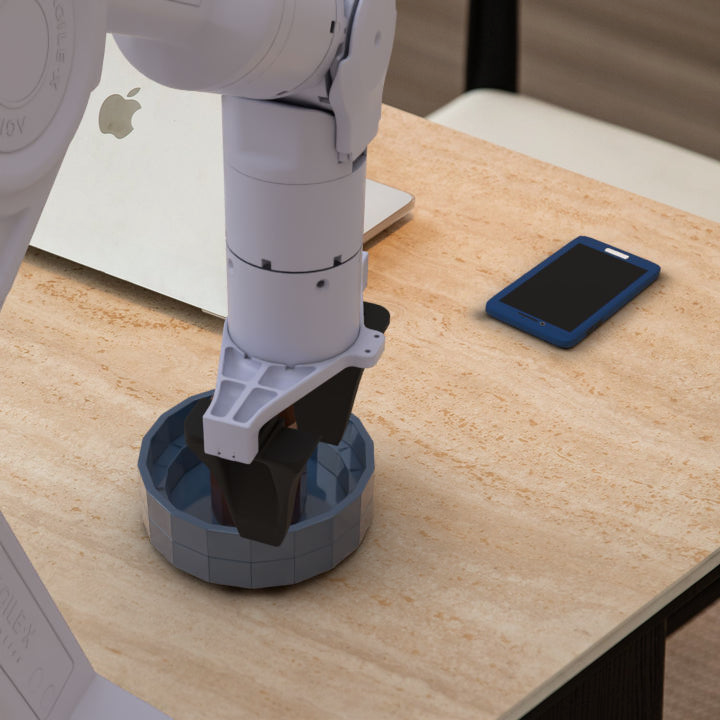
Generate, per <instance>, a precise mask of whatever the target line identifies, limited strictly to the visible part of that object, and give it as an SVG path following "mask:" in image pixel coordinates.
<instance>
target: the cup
mask: <svg viewBox="0 0 720 720" xmlns="http://www.w3.org/2000/svg"><path fill="white" fill-rule="evenodd" d="M213 397H214V394H213V396H212V397H211V400H213ZM281 417H283V418H285V427H289V428H293V429H297V430H298V428H297V424H296V420H295V414H294V406H293V404H292V405H290V406H289V407H287V408H286V409H284V410H283V411H281V412H280V413H278V418H281ZM209 477H210V497H211V509H212V513H213V516H214V517H215V519H216V520H217V522H218V523H219V524H220V525H223V526H230V527H236V525H235V523H234V520H233V518H232V515H231V512H230V510H229V507H228V504H227V502H226V499H225V497H224V495H223V492H222V490H221V488H220V486H219V484H218V482H217V481H216V479H215V478H214V476H213V475H212V473H211V472H210V470H209ZM306 501H307V462H306V464H305V465H304V468H303V470H302V473H301V476H300V479H299V483H298V486H297V490H296V496H295V502H294V508H293V514H292V519H291V524H290V525H294V524H296V523H297V522H298V521H299V520H300V519H301V517H302V516H303V514H304V511H305V507H306Z"/></svg>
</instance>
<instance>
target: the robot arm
mask: <svg viewBox="0 0 720 720" xmlns="http://www.w3.org/2000/svg"><path fill="white" fill-rule="evenodd" d="M396 3H397V2H396V0H0V313H1V311H2V309H3V307H4V304H5V302H6V300H7V297H8V295H9V293H10V292H11V290H12V288H13V286H14V283H15V281H16V278H17V276H18V273H19V271H20V268H21V265H22V263H23V261H24V258H25V256H26V253H27V251H28V249H29V246H30V243H31V241H32V238H33V237H34V233H35V231H36V228H37V226H38V224H39V221H40V219H41V217H42V214H43V211H44V209H45V206H46V204H47V201H48V199H49V197H50V194H51V191H52V189H53V187H54V185H55V182H56V179H57V176H58V174H59V172H60V169H61V167H62V164H63V162H64V159H65V157H66V155H67V152H68V150H69V147H70V145H71V143H72V141H73V139H74V138H75V136H76V134H77V131H78V130H79V127H80V125H81V123H82V121H83V118H84V116H85V113H86V109H87V107H88V104H89V100H90V97H91V94H92V92H94V91H95V90H96V89H97V88H98V86H99V85H100V83H101V79H102V73H103V67H104V60H105V59H104V58H105V53H106V43H107V34H111V35H112V38H113V40H114V42H115V44H116V46H117V47H118V50H119V51H120V52H121V54H122V55H123V57H124V58H125V60H127V62H128V63H129V64H130V65H131V66H132V67H133V68H135V70H136V71H138V72H139V73H140V74H141V75H143V76H144V77H146V78H147V79H149V80H151V81H152V82H154V83H156V84H158V85H161V86H163V87H166V88H169V89H174V90H179V91H186V92H198V93H206V94H214V95H220V100H221V101H220V102H221V103H220V104H221V128H222V130H221V131H222V163H223V164H222V166H223V195H224V198H223V201H224V228H225V230H224V231H225V263H226V292H227V297H226V298H227V316H226V317H225V319H224V323H223V329H222V337H221V344H220V351H219V352H220V353H219V359H218V365H217V366H218V368H217V373H216V374H217V375H216V381H215V388H216V389H215V388H214V389H215V393H214V397H213V400H211V399H207V398H203V397H202V398H201V399H200V400H199V401H198V403H197V404H196V405H195V407H194V408H193V409H192V411H191V412H190V413H189V415H188V416H187V417H186V419H185V421H184V436H185V443H186V445H187V446H188V447H189V448H190V449H191V450H192V451H193V452H194V453H195V454H196V455H197V456H198V457H199V458H200V459H201V461H202V462H203V463H204V464H205V465H206V466H207V468H208V469H209V470H210V472H211V473H212V475H213V476H214V478H215V479H216V481H217V482H218V484H219V486H220V488H221V490H222V492H223V495H224V497H225V499H226V502H227V504H228V507H229V510H230V512H231V515H232V518H233V520H234V523H235V525H236V528H237V530H238V533H239V535H240V537H242V538H246V539H249V540H253V541H256V542H260V543H264V544H267V545H271V546H275V547H279V546H281V544H282V542H283V540H284V539H285V537H286V534H287V532H288V530H289V527H290V524H291V519H292V514H293V508H294V502H295V496H296V490H297V486H298V483H299V479H300V476H301V473H302V470H303V468H304V465H305V464H306V462H307V461H308V459H309V458H310V456H311V455H312V453H313V451H314V450H315V448H316V446H317V445H318V443H319V442H323V443H327V444H331V445H335V446H338V445H339V443H340V441H341V440H342V438H343V436H344V433H345V431H346V428H347V425H348V422H349V419H350V416H351V413H353V412H352V411H353V407H354V404H355V401H356V397H357V394H358V390H359V387H360V384H361V381H362V377H363V374H364V372H365V370H366V369H370V368H371V369H372V368H373V367H375V366H376V365H377V364H378V362H379V360H380V358H381V357H382V355H383V354H384V352H385V349H386V335H385V333H386V331H387V329H388V328H389V326H390V324H391V312H390V311H389V310H388V309H387V308H386V307H385V306H383V305H381V304H378V303H374V302H369V301H366V300H364V292H365V290H366V288H367V287H368V279H369V258H370V257H369V256H370V253H369V251H365V250H364V249H363V248H364V235H365V234H364V233H365V212H366V211H365V209H366V189H367V187H366V185H367V166H368V165H367V164H368V162H367V161H368V146H369V144H371V142H372V141H374V139H375V138H376V137H377V135H378V132H379V124H380V120H381V119H382V104H383V93H384V86H385V80H386V77H387V73H388V69H389V65H390V62H391V57H392V52H393V49H394V48H393V47H394V41H395V36H396V28H397V18H398V17H397V16H398V15H397V14H398V11H397V8H396V7H397V5H396ZM292 404H293V406H294V414H295V420H296V424H297V428H298V430H297V429H293V428H289V427H285V418H283V417H281V418H278V413H280V412H281V411H283V410H284V409H286V408H287V407H289V406H290V405H292ZM0 720H176V719H175V718H174V717H172V716H170V715H168V714H167V713H165V712H163V711H162V710H160V709H159V708H157V707H155V706H153V705H152V704H150V703H148V702H147V701H145V700H143V699H142V698H140V697H138V696H136V695H135V694H133V693H131V692H129V691H128V690H126V689H124V688H122V687H121V686H120V685H117V684H116V683H114V682H113V681H111V680H110V679H108V678H106V677H105V676H103V675H101V674H99V673H98V672H97V671H95V669H94V667H93V665H92V663H91V661H90V660H89V658H88V657H87V655H86V653H85V651H84V650H83V648H82V647H81V644H80V643H79V642H78V640H77V638H76V636H75V635H74V633H73V631H72V629H71V628H70V626H69V624H68V622H67V621H66V619H65V617H64V616H63V615H62V613H61V611H60V609H59V607H58V606H57V603H56V602H55V600H54V599H53V597H52V595H51V594H50V592H49V590H48V589H47V587H46V586H45V584H44V581H43V580H42V578H41V577H40V575H39V573H38V572H37V570H36V567H35V566H34V565H33V563H32V561H31V560H30V558H29V557H28V554H27V553H26V551H25V549H24V548H23V546H22V544H21V543H20V541H19V540H18V538H17V536H16V534H15V533H14V531H13V529H12V528H11V525H10V524H9V522H8V521H7V519H6V517H5V516H4V514H3V512H2V510H1V509H0Z"/></svg>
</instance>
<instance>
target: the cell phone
mask: <svg viewBox="0 0 720 720" xmlns="http://www.w3.org/2000/svg"><path fill="white" fill-rule="evenodd" d="M661 270H662V267H661V266H660V265H659V264H658V263H656V262H653V261H651V260H648V259H646V258H644V257H641V256H639V255H636V254H634V253H631V252H629V251H626V250H624V249H621V248H618V247H616V246H613V245H611V244H609V243H606V242H605V241H601V240H598V239H595V238H593V237H590V236H588V235H578V236H576V237H575V238H573V239H572V240H571V241H569V242H567V243H566V244H564V246H562V247H560V248H559V249H557V250H556V251H554V252H553V253H552V254H551V255H549V256H548V257H546V258H545V259H544V260H542V261H541V262H539V263H537V265H535V266H534V267H532V268H531V269H529V270H528V271H527V272H525V273H524V274H523V275H521V276H519V277H518V278H517V279H515V280H514V281H512V282H511V283H510V284H508V285H507V286H505V287H504V288H502V289H501V290H500V291H499V292H497V293H496V294H494V295H493V296H492V297H490V298H488V300H487V301H486V303H485V308H484V311H485V314H487V315H488V316H490V317H492V318H495V319H497V320H498V321H501V322H503V323H505V324H507V325H510V326H511V327H514V328H516V329H519V330H521V331H523V332H525V333H528V334H529V335H532V336H534V337H536V338H538V339H540V340H543V341H545V342H547V343H549V344H551V345H554V346H557V347H560V348H564V349H568V348H572V347H574V346H576V345H577V344H579V343H580V342H581V341H582V340H583V339H585V338H586V337H587V336H588V335H590V334H591V333H592V332H593V331H595V330H596V329H597V328H598V327H599V326H601V325H602V324H603V323H604V322H606V321H607V320H608V319H609V318H611V316H613V315H614V314H615V313H616V312H618V311H619V310H620V309H621V308H622V307H624V306H626V304H628V303H629V302H630V301H631V300H633V298H635V297H636V296H637V295H639V294H640V293H641V292H643V291H644V290H645V289H646V288H648V286H650V285H651V284H652V283H653V282H654V281H656V279H658V278H659V277H660V274H661Z"/></svg>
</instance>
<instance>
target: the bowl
mask: <svg viewBox="0 0 720 720" xmlns="http://www.w3.org/2000/svg"><path fill="white" fill-rule="evenodd" d="M215 389H216V387H215V388H212V389H209V390H205V391H202V392H200V393H197V394H192V395H190V396H188V397H187V398H184V399H183V400H182V401H180V402H178V403H177V404H175V405H174V406H172V407H171V408H169V409H167V410H165V411H164V412H162V413H161V414H160V415H159V417H158V418H157V419H156V420H155V422H154V423H153V424H152V425H151V426H150V427H149V429H148V430H147V432H146V433H145V434H144V435H143V437H142V439H141V444H140V448H139V453H138V459H137V464H136V466H137V468H136V469H137V477H138V489H139V501H140V512H141V518H142V522H143V525H144V527H145V530H146V534H147V536H148V539H149V542H150V544H151V545H152V546H153V547H154V549H156V550H157V551H158V552H159V553H160V554H161V555H162V556H163V557H164V558H165V559H166V560H167V562H169V563H170V564H171V565H172V566H173V567H174V568H175V569H178V570H180V571H183V572H185V573H187V574H189V575H191V576H194V577H195V578H198V579H200V580H202V581H204V582H207V583H209V584H217V585H223V586H231V587H236V588H243V589H252V590H253V589H263V588H272V587H279V586H288V585H294V584H298V583H301V582H303V581H306V580H309V579H312V578H313V577H316V576H318V575H321V574H323V573H326V572H329V571H331V570H332V569H334V568H335V567H336V566H338V565H339V564H341V562H343V560H345V559H346V558H347V557H348V556H350V555H351V554H352V553H353V552H354V551H355V550H357V549H358V548H359V546H360V545H361V543H362V540H363V539H364V537H365V534H366V533H367V531H368V528H369V527H370V525H371V523H372V520H373V509H374V493H375V492H374V491H375V475H376V474H375V472H376V463H375V462H376V461H375V442H374V440H373V439H372V437H371V435H370V433H369V432H368V431H367V429H366V427H365V426H364V423H363V422H362V420H361V419H360V418H359V416H357V415H356V414H354V413H353V412H351V416H350V419H349V422H348V425H347V428H346V431H345V433H344V436H343V438H342V440H341V441H340V443H339V445H338V446H335V445H331V444H327V443H323V442H319V443H318V445H317V446H316V448H315V450H314V451H313V453H312V455H311V456H310V458H309V459H308V461H307V501H306V507H305V511H304V514H303V516H302V517H301V519H300V520H299V521H298V522H297V523H296V524H294V525H290V527H289V530H288V532H287V534H286V537H285V539H284V540H283V542H282V544H281V546H279V547H275V546H271V545H267V544H264V543H260V542H256V541H253V540H249V539H246V538H242V537H240V535H239V533H238V530H237V528H236V527H230V526H223V525H220V524H219V523H218V522H217V520H216V519H215V517H214V516H213V513H212V509H211V497H210V477H209V469H208V468H207V466H206V465H205V464H204V463H203V462H202V461H201V459H200V458H199V457H198V456H197V455H196V454H195V453H194V452H193V451H192V450H191V449H190V448H189V447H188V446H187V445H186V443H185V436H184V421H185V419H186V417H187V416H188V415H189V413H190V412H191V411H192V409H193V408H194V407H195V405H196V404H197V403H198V401H199V400H200V399H201V398H202V397H203V398H207V399H211V397H212V396H213V394H214V393H215Z"/></svg>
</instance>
